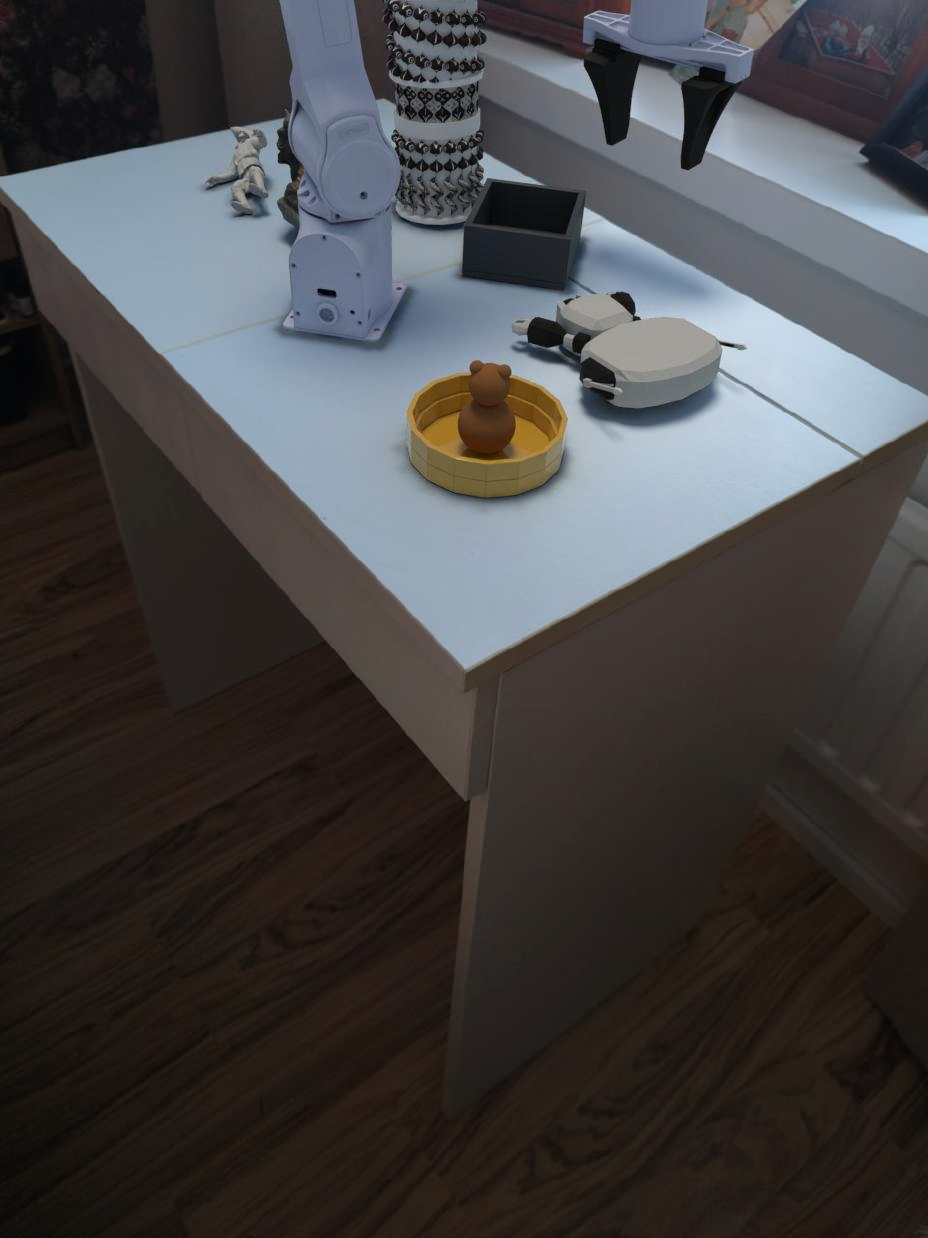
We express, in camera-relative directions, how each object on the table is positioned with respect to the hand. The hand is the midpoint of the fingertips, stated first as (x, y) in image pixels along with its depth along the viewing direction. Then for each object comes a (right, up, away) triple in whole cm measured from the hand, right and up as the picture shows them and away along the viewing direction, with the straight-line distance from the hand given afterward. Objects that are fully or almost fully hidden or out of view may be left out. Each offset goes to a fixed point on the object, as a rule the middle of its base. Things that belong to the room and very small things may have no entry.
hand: (652, 152), depth 85 cm
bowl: (-14, -27, -14) cm, 34 cm away
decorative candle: (-18, +1, +13) cm, 22 cm away
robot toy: (-4, -20, -5) cm, 21 cm away
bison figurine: (-28, -5, +7) cm, 30 cm away
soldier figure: (-37, +3, +15) cm, 40 cm away
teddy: (-14, -27, -14) cm, 34 cm away
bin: (-10, -6, +7) cm, 14 cm away
